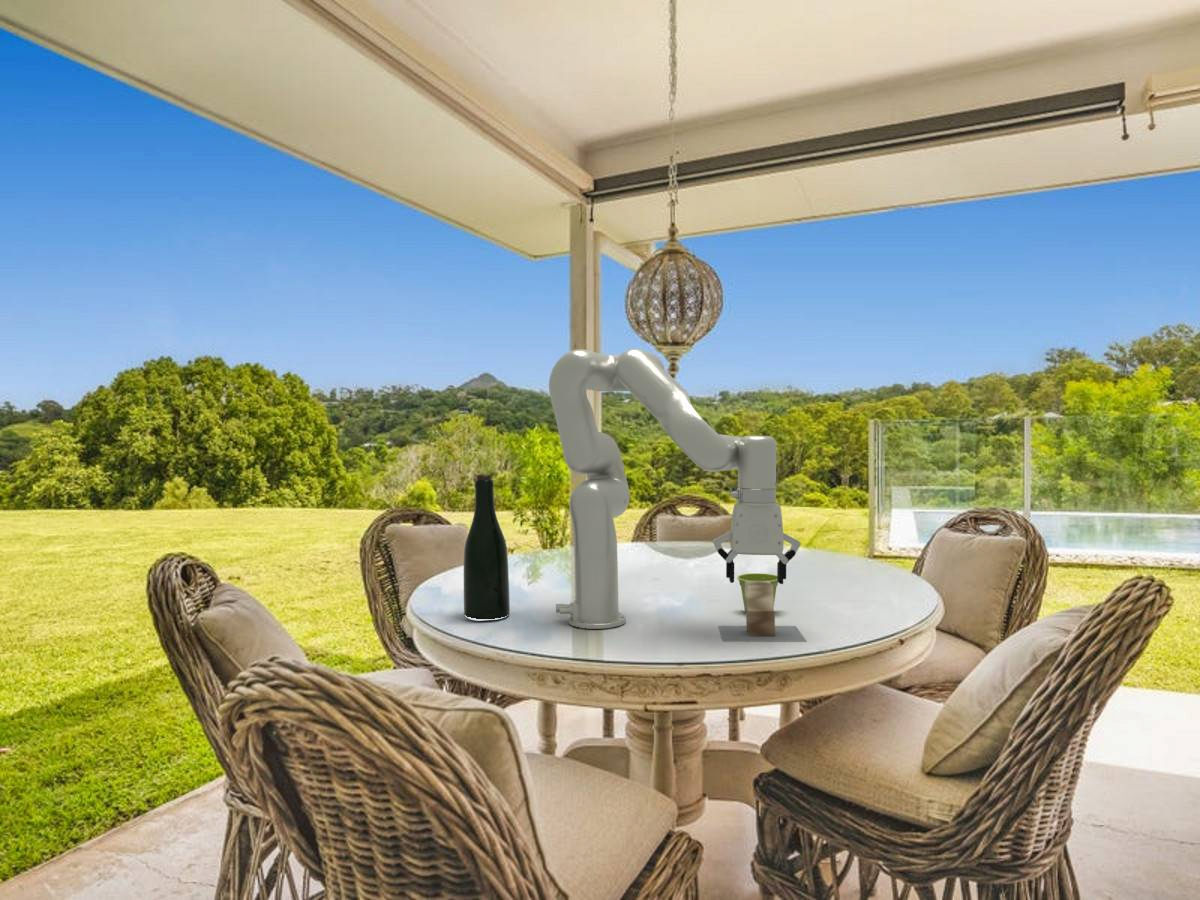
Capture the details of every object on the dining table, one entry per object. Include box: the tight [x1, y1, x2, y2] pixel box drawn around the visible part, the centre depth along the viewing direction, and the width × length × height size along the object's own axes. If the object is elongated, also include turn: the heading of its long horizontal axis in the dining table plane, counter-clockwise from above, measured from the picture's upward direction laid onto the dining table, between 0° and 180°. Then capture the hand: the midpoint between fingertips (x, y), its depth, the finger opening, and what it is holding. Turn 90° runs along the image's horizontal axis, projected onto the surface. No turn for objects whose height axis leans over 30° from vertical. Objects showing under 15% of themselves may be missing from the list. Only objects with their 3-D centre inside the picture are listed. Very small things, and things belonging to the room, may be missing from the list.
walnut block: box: [745, 608, 776, 637], centre depth 145 cm, size 5×5×5 cm
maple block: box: [745, 581, 775, 611], centre depth 145 cm, size 5×5×5 cm
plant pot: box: [736, 572, 779, 614], centre depth 162 cm, size 9×9×9 cm
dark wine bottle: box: [463, 473, 511, 619], centre depth 166 cm, size 10×10×33 cm
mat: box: [718, 625, 808, 643], centre depth 145 cm, size 16×12×1 cm
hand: (755, 582), depth 145 cm, fingers open, 9 cm apart
